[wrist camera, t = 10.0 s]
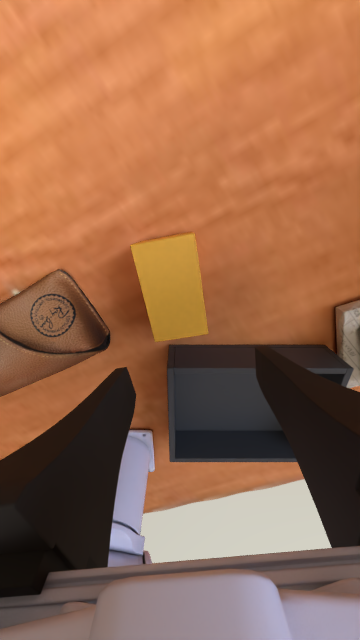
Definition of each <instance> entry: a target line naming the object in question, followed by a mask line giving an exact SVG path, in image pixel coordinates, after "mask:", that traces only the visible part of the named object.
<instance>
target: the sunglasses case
mask: <svg viewBox="0 0 360 640" xmlns="http://www.w3.org/2000/svg"><path fill="white" fill-rule="evenodd" d="M109 344H110V333H109V330H108V328H107V326H106V325H105V324H104V322H103V320H102V319H101V317H100V316H99V314H98V313H97V311H96V310H95V308H94V307H93V306H92V304H91V303H90V301H89V300H88V299H87V297H86V296H85V295H84V293H83V292H82V291H81V290H80V288H79V287H78V286H77V284H76V283H75V282H74V280H73V279H72V278H71V277H70V276H69V275H68V274H67V273H66V272H64V271H62V270H56V271H55V272H53V273H50V274H49V275H47V276H46V277H44V278H42V279H41V280H39V281H38V282H36V283H35V284H33V285H31V286H30V287H28V288H27V289H26V290H24V291H22V292H21V293H19V294H17V295H15V296H14V297H12V298H10V299H8V300H7V301H5V302H3V303H1V304H0V397H1V396H3V395H6V394H8V393H10V392H13V391H15V390H17V389H20V388H22V387H24V386H27V385H29V384H32V383H34V382H36V381H39V380H41V379H43V378H46V377H48V376H51V375H53V374H55V373H58V372H60V371H62V370H64V369H67V368H69V367H71V366H73V365H76V364H78V363H80V362H82V361H84V360H86V359H88V358H90V357H92V356H94V355H96V354H98V353H100V352H102V351H104V350H106V349H107V348H108V346H109Z"/></svg>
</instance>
